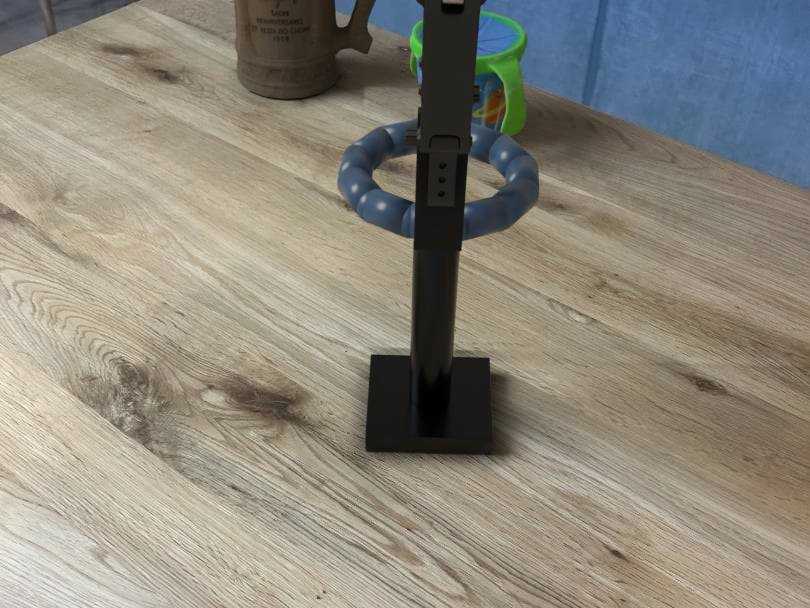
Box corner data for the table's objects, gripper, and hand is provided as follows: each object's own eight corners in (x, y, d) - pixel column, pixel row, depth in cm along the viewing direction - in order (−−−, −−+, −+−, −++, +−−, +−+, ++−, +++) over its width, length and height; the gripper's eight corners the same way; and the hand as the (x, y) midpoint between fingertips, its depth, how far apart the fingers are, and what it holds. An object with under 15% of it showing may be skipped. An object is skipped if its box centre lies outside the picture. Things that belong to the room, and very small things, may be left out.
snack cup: (379, 113, 107) (379, 9, 99) (469, 92, 110) (476, -10, 102) (454, 188, 98) (460, 80, 90) (550, 162, 101) (564, 56, 93)
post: (488, 372, 80) (506, 188, 69) (491, 455, 75) (512, 269, 63) (370, 369, 81) (369, 185, 69) (365, 451, 75) (362, 265, 63)
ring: (535, 149, 68) (539, 119, 66) (538, 253, 60) (542, 222, 58) (350, 138, 68) (350, 108, 67) (328, 240, 60) (327, 208, 59)
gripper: (378, -320, 48) (377, 161, 66) (361, -227, 38) (366, 311, 55) (543, -315, 48) (498, 164, 66) (570, -220, 38) (508, 315, 55)
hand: (437, 231), depth 60 cm, fingers closed on ring, 2 cm apart
